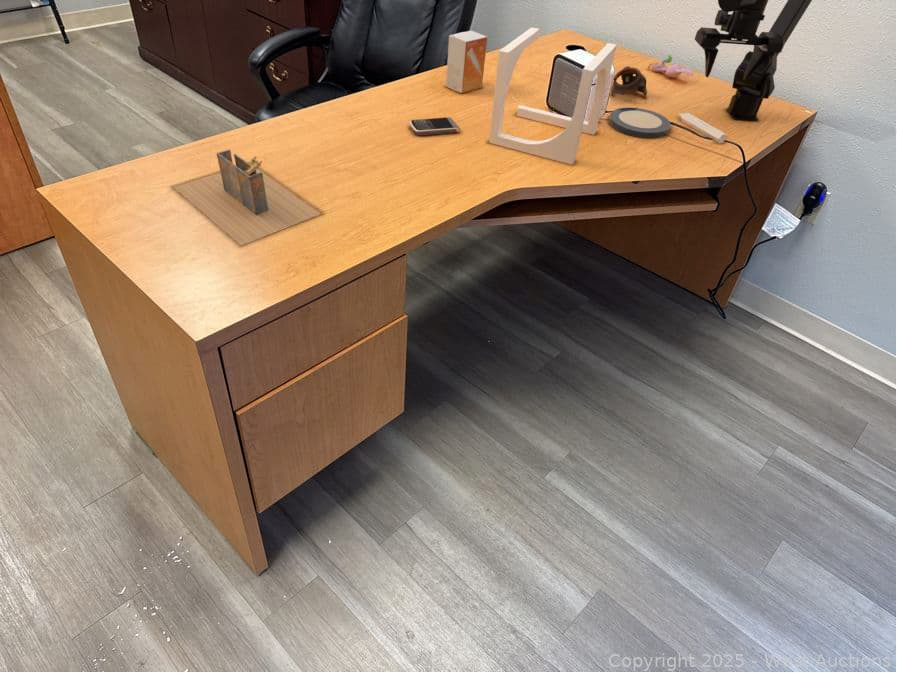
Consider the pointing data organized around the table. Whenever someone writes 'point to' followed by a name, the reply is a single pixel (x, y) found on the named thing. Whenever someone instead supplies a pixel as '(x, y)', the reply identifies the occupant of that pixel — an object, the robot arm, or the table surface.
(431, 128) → the cell phone
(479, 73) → the small box
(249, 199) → the architectural model on board
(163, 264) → the table surface
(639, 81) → the brown curved piece
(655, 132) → the plate
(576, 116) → the white open stand
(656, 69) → the pink elongated piece
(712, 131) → the beige long bar
